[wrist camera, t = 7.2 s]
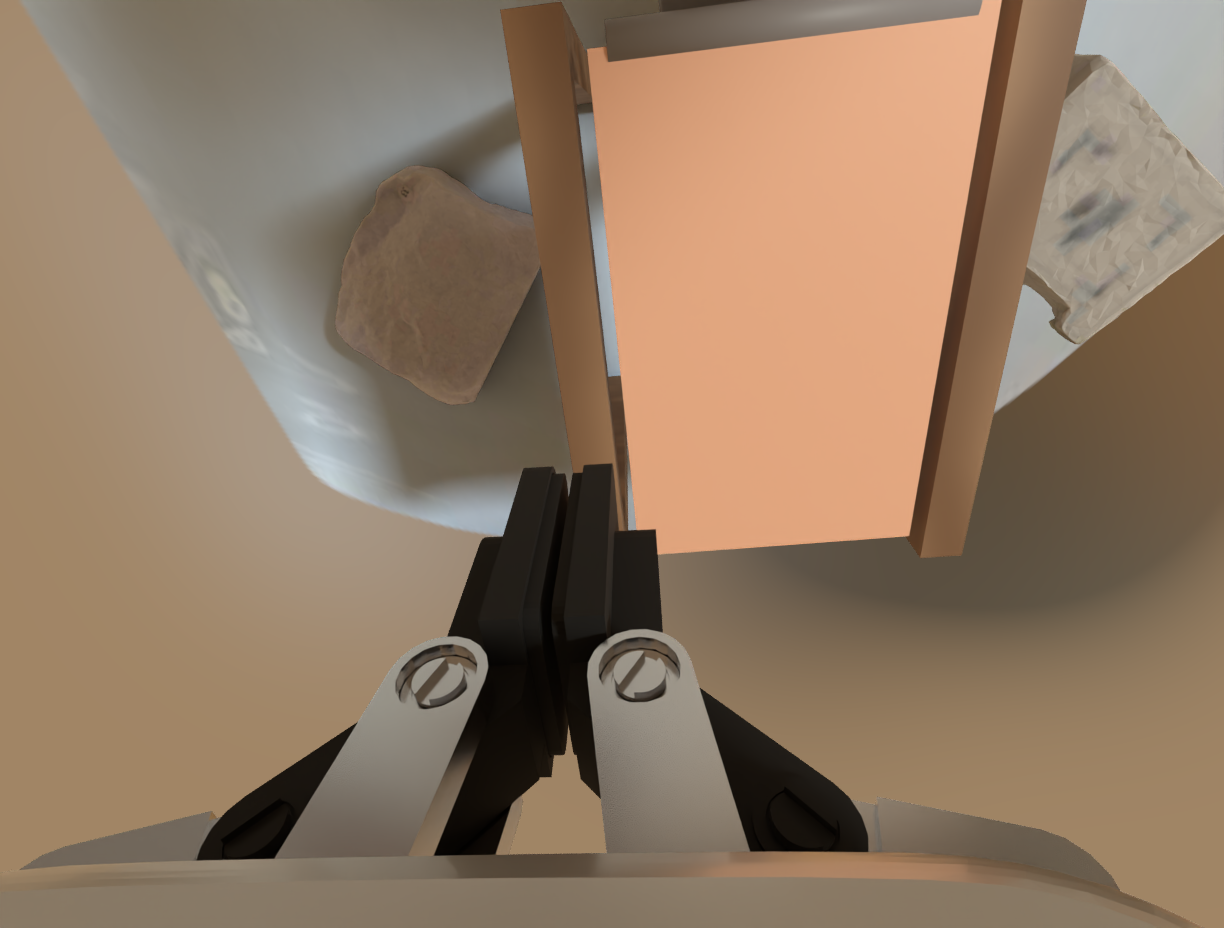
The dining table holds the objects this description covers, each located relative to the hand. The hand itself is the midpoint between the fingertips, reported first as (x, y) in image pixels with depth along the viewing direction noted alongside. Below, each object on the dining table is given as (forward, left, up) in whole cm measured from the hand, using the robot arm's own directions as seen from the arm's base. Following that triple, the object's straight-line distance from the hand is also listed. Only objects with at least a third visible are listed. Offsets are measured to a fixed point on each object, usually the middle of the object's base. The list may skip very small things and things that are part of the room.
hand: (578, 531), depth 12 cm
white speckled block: (-20, -2, -27) cm, 34 cm away
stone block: (+10, 0, -27) cm, 29 cm away
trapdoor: (-6, -2, -11) cm, 13 cm away
